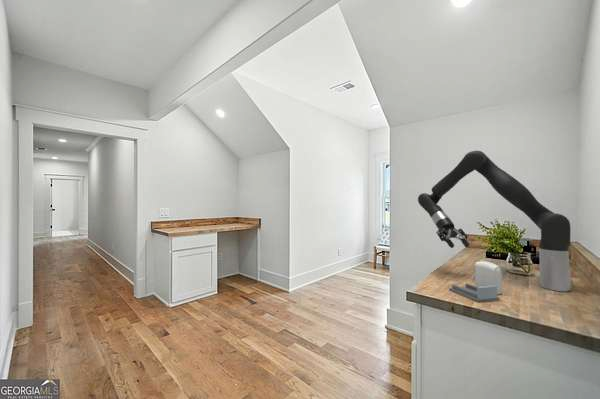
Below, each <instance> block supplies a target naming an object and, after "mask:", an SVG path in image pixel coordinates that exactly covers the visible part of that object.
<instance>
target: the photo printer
mask: <svg viewBox="0 0 600 399" xmlns="http://www.w3.org/2000/svg"><path fill="white" fill-rule="evenodd" d="M502 279H503V278H502V269H501V267H500V266H498V265H497V264H495V263H494V262H493V263H492V262H489V261H482V260H481V261H476V262H475V264H474V282H475V283H474V284H475V285H474V286H476V287H482V286H493V285H494V286H497V295H501V294H503V288H502V287H503V286H502V283H503V281H502Z"/></svg>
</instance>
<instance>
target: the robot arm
mask: <svg viewBox="0 0 600 399" xmlns="http://www.w3.org/2000/svg"><path fill="white" fill-rule="evenodd" d="M474 171H476V172H478V173H479V174H480V175H481V176H482V177H484V178H485V179H486V180H487V182H488V183H489V185H491V187H492V189H493V190H494V191H496V193H497V194H499V195H500V196H501V197H502V198H503V199H505V200H506V201H508V203H509V204H511V205H513V206H514V207H515V208H517V209H518V210H520V211H521V212H522V213H524V215H525V216H526V217H528V218H529V219H530V220H531V221H532V222H533V223H534V224H535V225H536V227H537V228H538V229H539V230H540V241H539V242H538V249H539V250H538V252H539V286H540V287H541V288H544V289H546V290H551V291H558V292H570V290H572V287H571V286H572V285H571V284H572V280H571V278H572V277H571V268H570V256H569V253H570V252H569V248H570V244H571V223H570V220H569V219H568V217H566V216H565V215H563V214H561V213H554V212H553V211H552V210H550V209H549V208H547V207H546V206H545V205H543V204H541V203H540V202H539V201H538V200H537V198H536V197H535V196H534V195H533V194H532V192H531V191H530V190H529V189H528V188H527V187H526V186H525V185H524V184H522V183H521V182H520V181H519V180H517V179H516V178H515V177H514V176H512V175H511V174H509V173H507V172H506V171H505V170H503V169H501V168H500V167H499V166H498V165H496V164H495V162H493V161H492V160H491V159H490V158H489V157H488V155H486V153H484V152H483V151H481V150H473V151H469V152H467V153H466V154H465V155H464V157H462V159H461V161H459V162H458V164H457V165H456V167H454V168H453V169H452V170H451V171H450V172H448V174H446V175H445V176H444V177H443V178H442V179H440V180H439V181H438V182H437V183H436V184H435V185H434V186H432V188H431V194H429V193H425V192H424V193H420V194H419V195H418V197H417V202H418V204H419V205H420V207H421V208H423V210H424V211H425V212H427V213H428V215H429V217H430V218H431V220H432V222H433V223H434V225H435V226H436V228H437V229H438V230H437V231H436V234H437V236H438V237H439V240H441V242H445V243H446V244H447V245H448V247H450V248H451V249H454V247H455V244H454V242H453V241H452V240H451V239H456V240H459V241H460V242H461V244H462V245H463V246H464V247H465V248H468V247H469V246H470V243H469V242H468V240H467V239H468V238H469V236H468V235H467V233H466V232H465V231H464V230H463V229H462V228H459V229H456V228H455V224H454V223H453V221H452V220H451V219H450V217H449V216H448V214H446V213H445V211H444V209H442V207H441V206H440V205H438V203H439V202H440V200H441V199H442V197H443V196H444V195H446V193H448V192H449V191H450V190H452V189H453V188H454V187H455V186H456V185H457V184H458V183H459V182H460V181H461V180H462V179H464V177H466V176H467V175H469V174H470V173H473V172H474Z"/></svg>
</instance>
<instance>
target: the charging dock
mask: <svg viewBox="0 0 600 399" xmlns="http://www.w3.org/2000/svg"><path fill="white" fill-rule="evenodd" d="M449 291H450V292H452V293H455V294H457V295H460V296H462V297H464V298H466V299H469V300H471V301H474V302H475V303H485V302H494V301H495V302H496V301H500V297H498V294H497V286H494V285H493V286H482V287H476V286H475V285H473V284H470V283H465V286H458V285H455V284H451V287H449Z"/></svg>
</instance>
